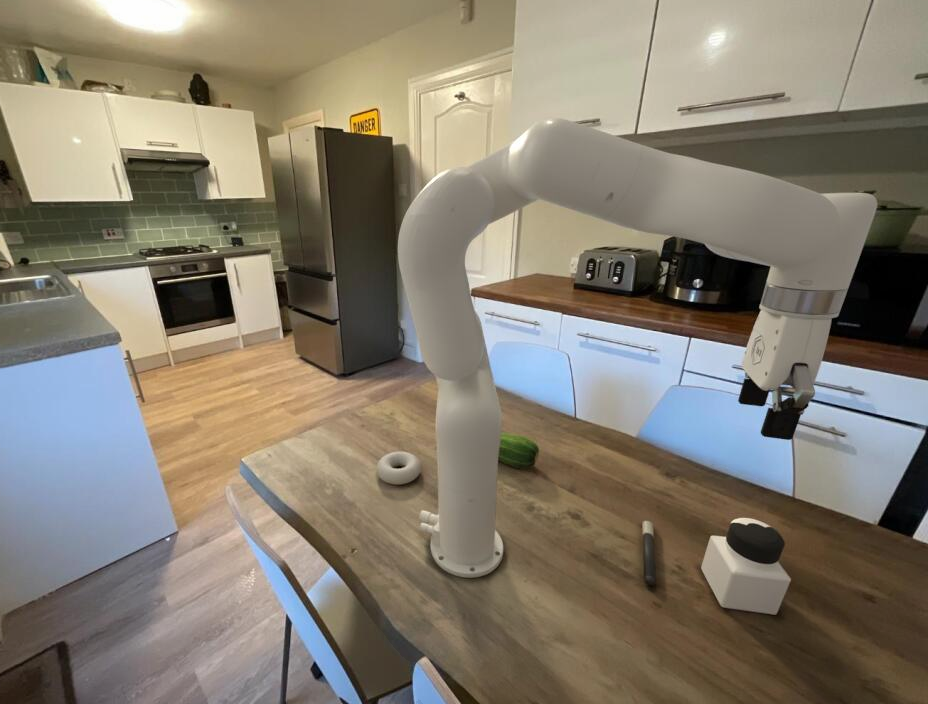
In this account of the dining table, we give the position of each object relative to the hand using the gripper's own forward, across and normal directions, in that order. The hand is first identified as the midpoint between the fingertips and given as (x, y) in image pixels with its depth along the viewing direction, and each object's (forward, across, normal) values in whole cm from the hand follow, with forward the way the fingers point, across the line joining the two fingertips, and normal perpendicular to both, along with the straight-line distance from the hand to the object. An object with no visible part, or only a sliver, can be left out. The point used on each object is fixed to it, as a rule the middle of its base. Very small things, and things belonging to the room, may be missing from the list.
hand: (762, 419), depth 57 cm
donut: (+26, -4, -60) cm, 65 cm away
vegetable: (+26, -17, -40) cm, 51 cm away
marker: (+26, +3, -11) cm, 28 cm away
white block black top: (+26, +6, +1) cm, 27 cm away
